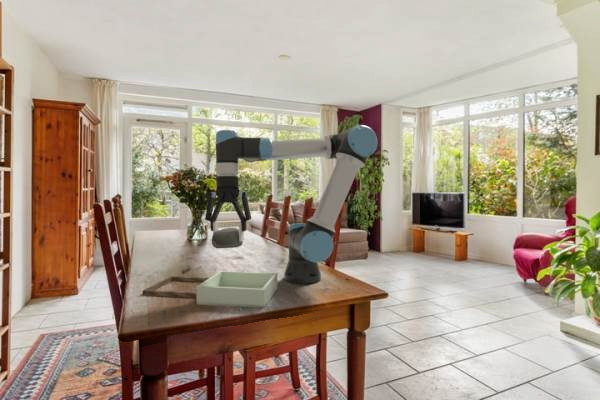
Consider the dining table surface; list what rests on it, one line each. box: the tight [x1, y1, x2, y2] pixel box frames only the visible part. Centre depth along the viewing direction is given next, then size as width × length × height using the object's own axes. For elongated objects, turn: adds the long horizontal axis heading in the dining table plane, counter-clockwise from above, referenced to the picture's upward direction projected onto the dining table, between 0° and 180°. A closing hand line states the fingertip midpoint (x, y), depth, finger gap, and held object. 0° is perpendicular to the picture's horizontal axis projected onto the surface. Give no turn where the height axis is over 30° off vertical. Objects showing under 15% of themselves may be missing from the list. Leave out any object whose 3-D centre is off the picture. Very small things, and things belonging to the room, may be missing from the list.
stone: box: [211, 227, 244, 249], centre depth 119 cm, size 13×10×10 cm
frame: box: [142, 275, 210, 299], centre depth 128 cm, size 22×20×2 cm
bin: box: [196, 270, 278, 309], centre depth 119 cm, size 22×21×6 cm
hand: (228, 240), depth 120 cm, fingers closed on stone, 9 cm apart
